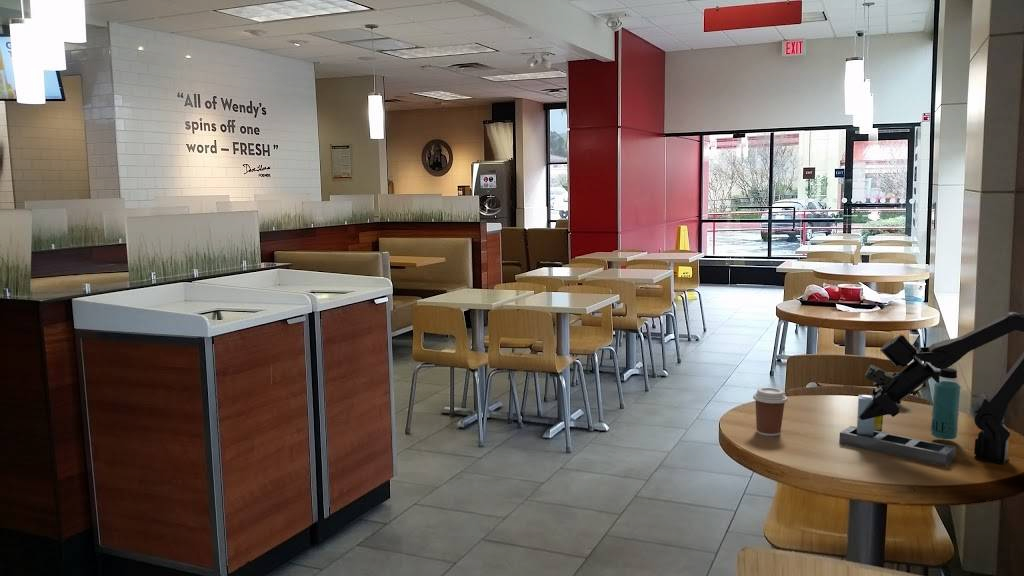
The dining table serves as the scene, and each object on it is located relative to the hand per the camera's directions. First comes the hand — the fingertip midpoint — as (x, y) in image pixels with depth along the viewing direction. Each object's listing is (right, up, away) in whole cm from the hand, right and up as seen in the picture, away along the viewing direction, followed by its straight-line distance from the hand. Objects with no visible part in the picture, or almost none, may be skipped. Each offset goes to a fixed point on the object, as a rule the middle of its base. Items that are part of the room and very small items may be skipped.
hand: (860, 416), depth 217 cm
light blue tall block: (+1, -7, 0) cm, 7 cm away
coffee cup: (-21, -6, +10) cm, 24 cm away
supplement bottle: (+8, -6, +11) cm, 15 cm away
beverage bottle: (+24, -7, +3) cm, 25 cm away
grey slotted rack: (+7, -8, -5) cm, 12 cm away
